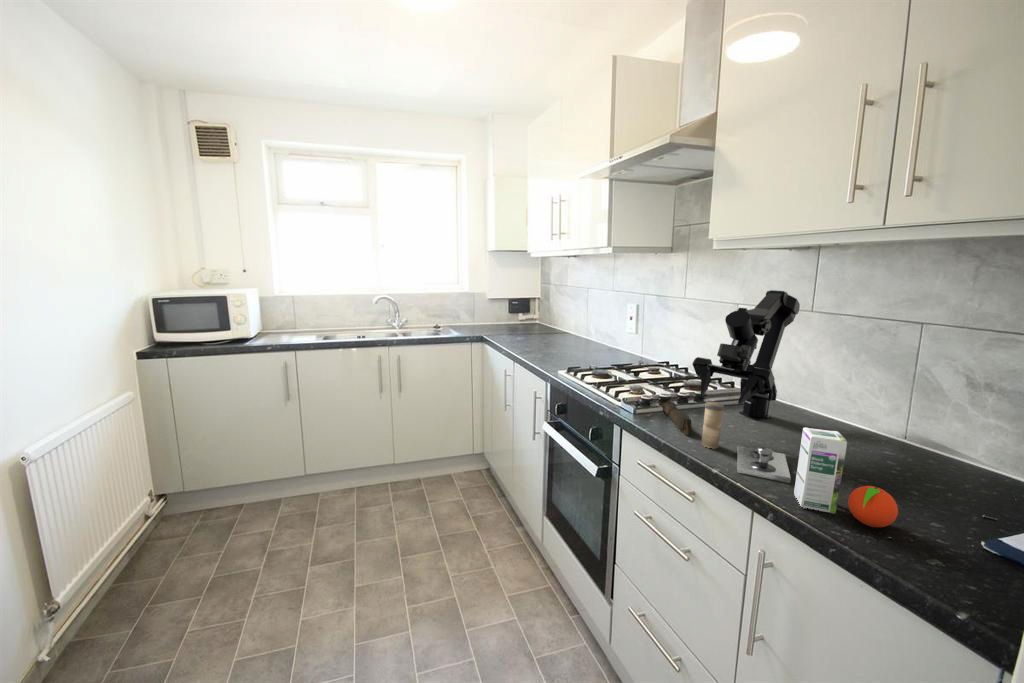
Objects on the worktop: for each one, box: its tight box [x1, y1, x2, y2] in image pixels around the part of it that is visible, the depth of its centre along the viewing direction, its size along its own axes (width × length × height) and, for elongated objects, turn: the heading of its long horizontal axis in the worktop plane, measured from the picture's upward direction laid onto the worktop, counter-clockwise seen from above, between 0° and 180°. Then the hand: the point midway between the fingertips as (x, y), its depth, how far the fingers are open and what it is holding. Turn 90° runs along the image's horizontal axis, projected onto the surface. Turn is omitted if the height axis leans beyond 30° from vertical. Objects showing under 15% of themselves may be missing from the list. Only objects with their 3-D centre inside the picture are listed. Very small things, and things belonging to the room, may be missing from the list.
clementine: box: [847, 485, 899, 528], centre depth 79 cm, size 8×7×7 cm
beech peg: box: [700, 401, 725, 450], centre depth 111 cm, size 4×4×11 cm
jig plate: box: [736, 445, 791, 484], centre depth 101 cm, size 14×10×5 cm
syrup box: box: [793, 427, 848, 515], centre depth 85 cm, size 6×6×14 cm
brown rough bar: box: [661, 401, 692, 437], centre depth 127 cm, size 19×4×5 cm, turn 174°
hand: (719, 399), depth 112 cm, fingers open, 9 cm apart
